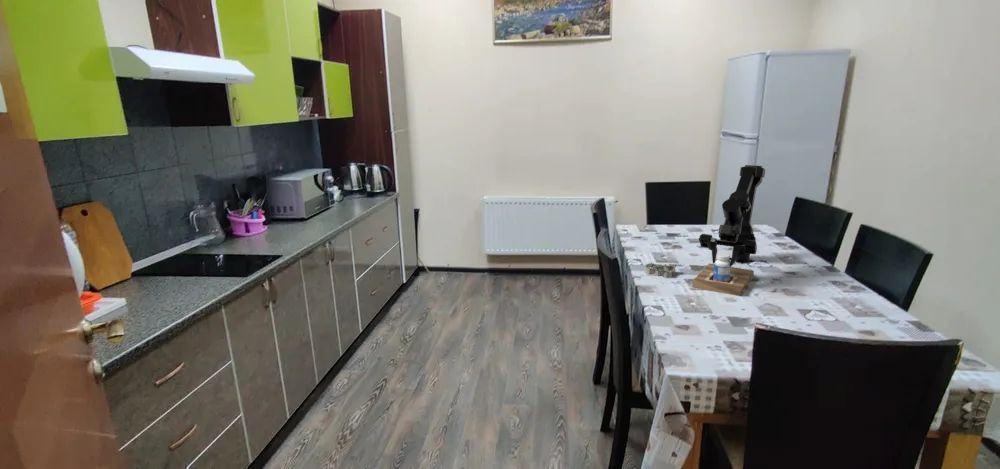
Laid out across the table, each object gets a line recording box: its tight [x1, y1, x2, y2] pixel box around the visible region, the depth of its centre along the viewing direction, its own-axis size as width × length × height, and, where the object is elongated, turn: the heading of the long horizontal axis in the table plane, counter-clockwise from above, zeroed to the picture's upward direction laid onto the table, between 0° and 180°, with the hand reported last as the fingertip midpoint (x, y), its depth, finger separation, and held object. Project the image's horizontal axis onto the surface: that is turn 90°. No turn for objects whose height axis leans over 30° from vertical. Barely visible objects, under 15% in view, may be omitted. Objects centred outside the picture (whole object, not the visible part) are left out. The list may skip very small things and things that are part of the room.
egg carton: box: [645, 262, 678, 279], centre depth 193 cm, size 11×8×4 cm
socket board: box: [691, 263, 755, 297], centre depth 182 cm, size 22×16×3 cm
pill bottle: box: [713, 252, 732, 283], centre depth 178 cm, size 6×5×10 cm
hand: (721, 264), depth 176 cm, fingers closed on pill bottle, 5 cm apart
